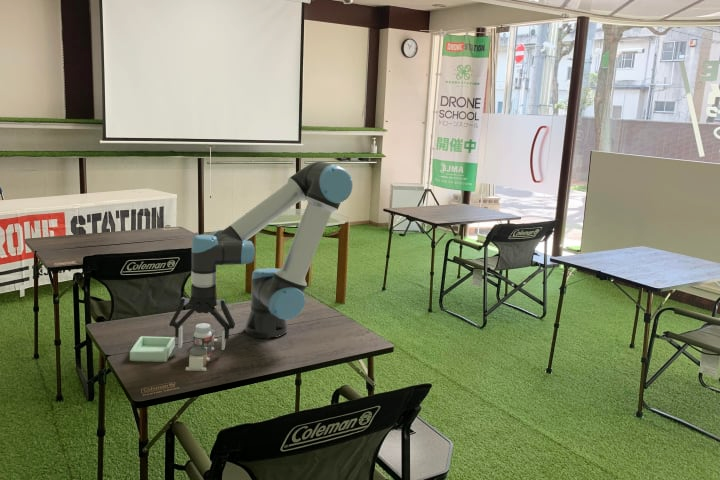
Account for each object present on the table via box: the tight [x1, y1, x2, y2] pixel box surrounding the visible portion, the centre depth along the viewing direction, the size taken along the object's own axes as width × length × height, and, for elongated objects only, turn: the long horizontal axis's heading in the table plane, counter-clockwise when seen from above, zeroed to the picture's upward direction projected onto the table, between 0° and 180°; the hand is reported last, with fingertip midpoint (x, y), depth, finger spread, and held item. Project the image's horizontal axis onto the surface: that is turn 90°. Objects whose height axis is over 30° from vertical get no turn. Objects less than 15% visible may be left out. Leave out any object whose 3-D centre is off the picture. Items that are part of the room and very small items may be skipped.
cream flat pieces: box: [185, 338, 218, 372], centre depth 202 cm, size 6×24×4 cm, turn 5°
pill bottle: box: [192, 322, 212, 358], centre depth 201 cm, size 6×6×10 cm
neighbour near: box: [189, 347, 208, 367], centre depth 194 cm, size 5×5×5 cm
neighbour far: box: [210, 328, 216, 347], centre depth 209 cm, size 5×5×5 cm
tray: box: [129, 335, 176, 363], centre depth 200 cm, size 11×13×3 cm
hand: (202, 347), depth 202 cm, fingers open, 13 cm apart
